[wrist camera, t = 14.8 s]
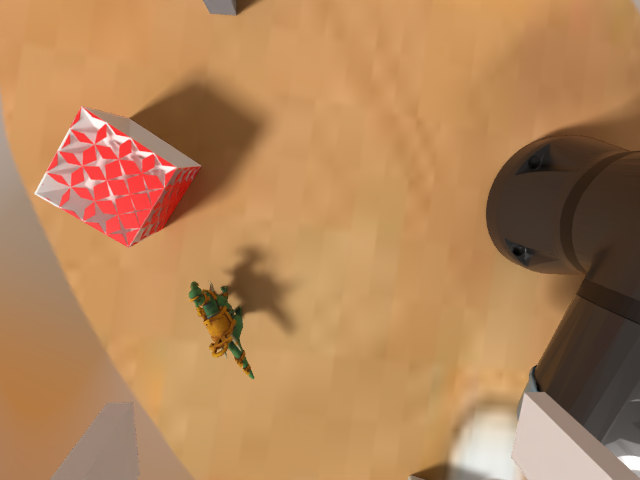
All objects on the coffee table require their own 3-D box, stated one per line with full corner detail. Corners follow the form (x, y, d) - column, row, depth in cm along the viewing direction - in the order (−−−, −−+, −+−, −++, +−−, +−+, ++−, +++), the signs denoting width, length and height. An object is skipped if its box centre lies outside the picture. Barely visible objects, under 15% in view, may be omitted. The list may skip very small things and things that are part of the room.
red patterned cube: (202, 165, 34) (177, 167, 27) (163, 228, 36) (128, 247, 28) (128, 117, 33) (80, 105, 25) (90, 185, 34) (32, 193, 26)
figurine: (215, 261, 37) (196, 289, 29) (269, 347, 40) (264, 394, 32) (191, 274, 37) (164, 305, 29) (245, 359, 40) (235, 408, 32)
